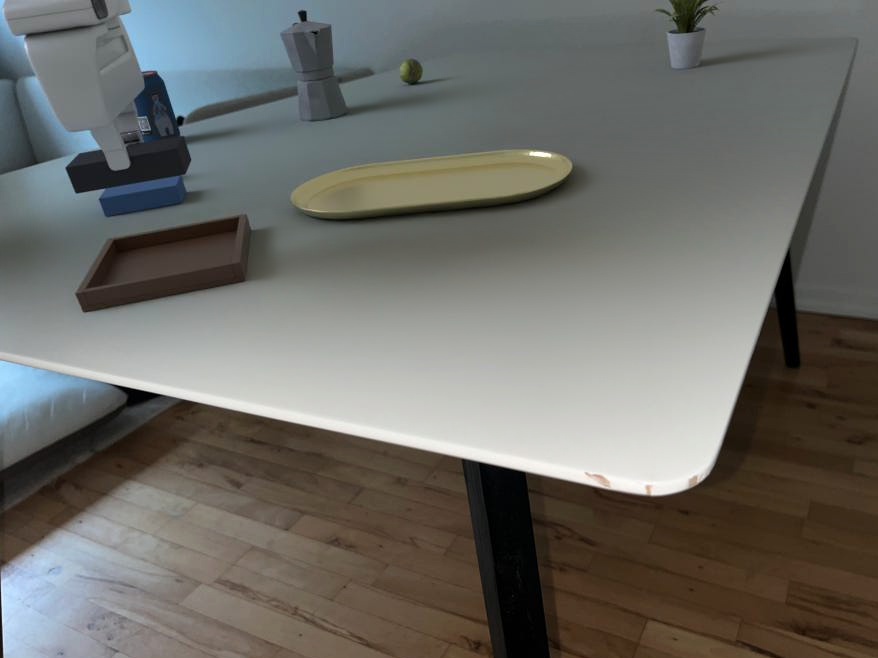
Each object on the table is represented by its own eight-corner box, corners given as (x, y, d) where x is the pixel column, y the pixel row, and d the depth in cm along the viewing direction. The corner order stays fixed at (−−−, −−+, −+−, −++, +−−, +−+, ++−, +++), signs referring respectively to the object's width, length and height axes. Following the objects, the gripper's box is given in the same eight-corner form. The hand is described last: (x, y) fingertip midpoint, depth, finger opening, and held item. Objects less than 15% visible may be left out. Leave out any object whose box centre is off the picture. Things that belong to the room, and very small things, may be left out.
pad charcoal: (75, 194, 68) (64, 167, 67) (88, 178, 73) (78, 153, 72) (185, 174, 70) (177, 148, 69) (191, 160, 74) (184, 135, 73)
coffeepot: (358, 115, 135) (338, 7, 126) (308, 126, 132) (284, 16, 123) (334, 103, 148) (314, 4, 138) (288, 113, 144) (264, 12, 135)
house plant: (710, 75, 131) (714, -28, 122) (636, 75, 138) (635, -23, 129) (734, 59, 140) (740, -38, 132) (664, 59, 148) (666, -32, 139)
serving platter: (578, 202, 82) (578, 188, 82) (275, 231, 86) (271, 218, 85) (568, 155, 98) (567, 143, 98) (312, 180, 102) (310, 169, 101)
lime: (398, 86, 156) (394, 61, 153) (412, 81, 159) (408, 56, 156) (414, 86, 153) (410, 61, 151) (428, 81, 157) (425, 56, 154)
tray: (82, 312, 72) (74, 293, 71) (113, 254, 85) (107, 238, 84) (245, 280, 74) (239, 262, 73) (251, 229, 87) (246, 213, 86)
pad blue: (105, 216, 98) (98, 198, 97) (113, 204, 103) (106, 186, 102) (182, 203, 100) (176, 185, 98) (186, 191, 104) (181, 174, 103)
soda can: (156, 139, 137) (134, 71, 131) (189, 137, 135) (168, 68, 129) (134, 150, 131) (110, 79, 125) (169, 148, 130) (145, 76, 123)
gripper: (63, -3, 72) (115, 140, 79) (-7, 13, 55) (68, 195, 62) (130, -13, 73) (176, 130, 80) (82, 1, 55) (146, 181, 62)
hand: (129, 158), depth 71 cm, fingers closed on pad charcoal, 5 cm apart
